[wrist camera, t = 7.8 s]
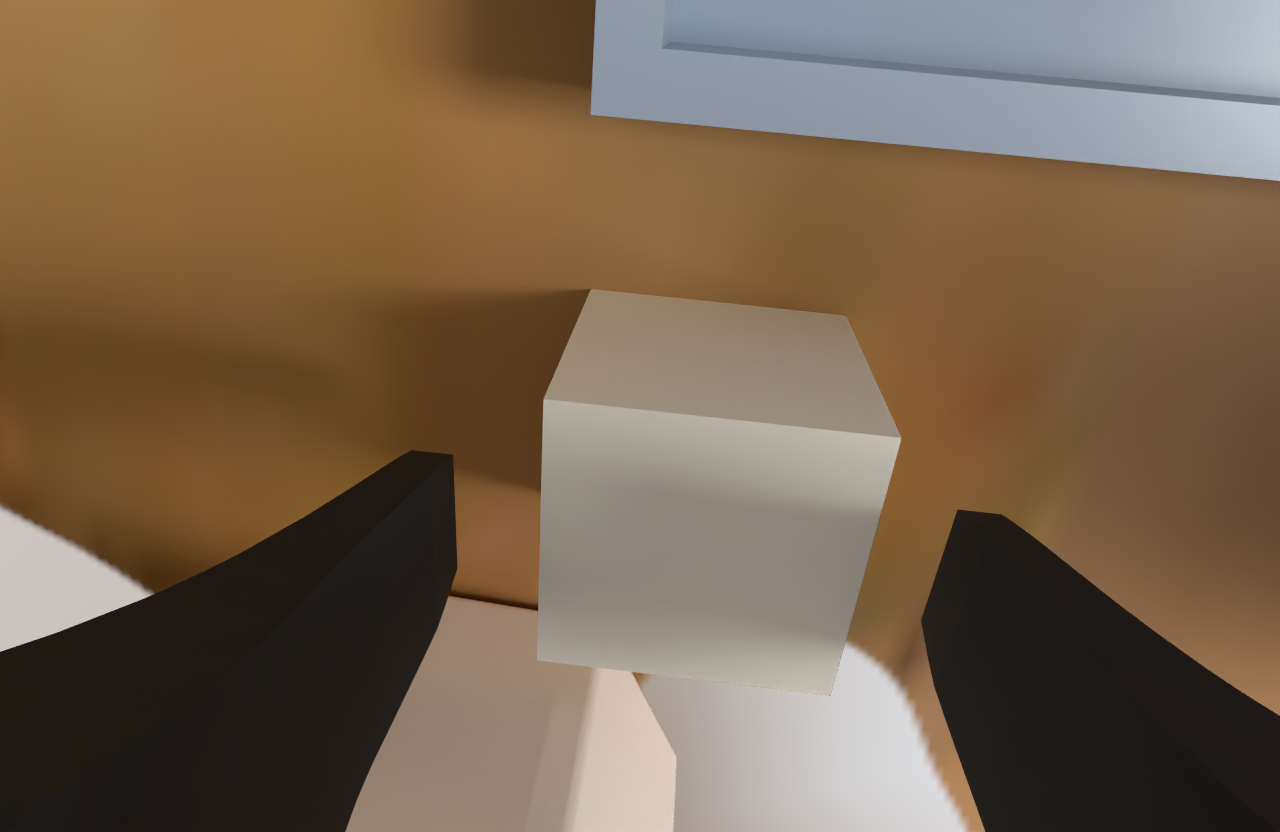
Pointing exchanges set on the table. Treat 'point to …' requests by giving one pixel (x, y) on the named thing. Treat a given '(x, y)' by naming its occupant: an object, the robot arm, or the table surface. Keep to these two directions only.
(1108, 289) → the table surface
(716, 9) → the tote
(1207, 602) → the table surface
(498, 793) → the jar
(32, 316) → the table surface
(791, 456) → the white cube
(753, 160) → the table surface
